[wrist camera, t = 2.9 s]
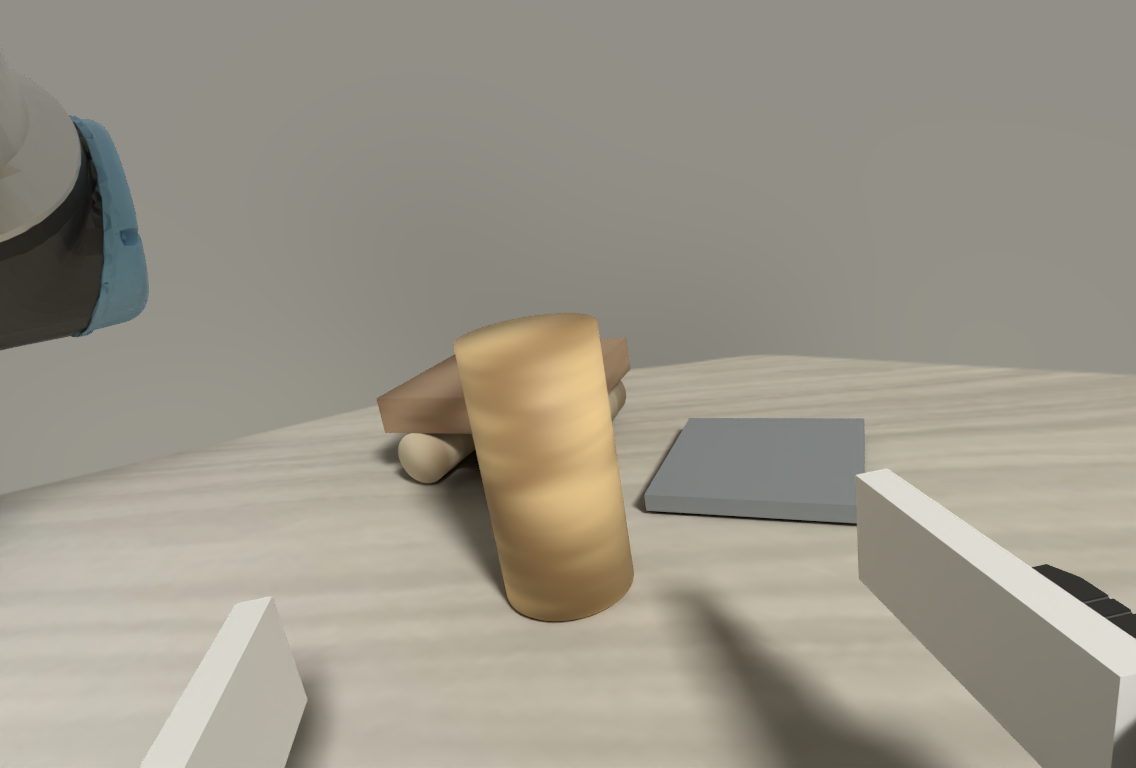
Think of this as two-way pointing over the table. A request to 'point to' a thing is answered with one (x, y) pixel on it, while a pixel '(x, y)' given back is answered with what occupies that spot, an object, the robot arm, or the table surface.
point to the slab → (460, 413)
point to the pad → (763, 469)
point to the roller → (548, 462)
